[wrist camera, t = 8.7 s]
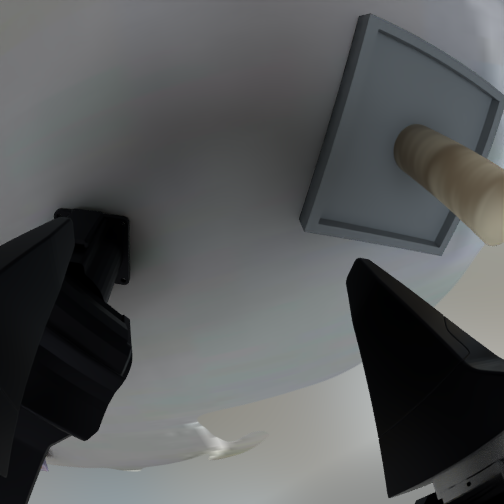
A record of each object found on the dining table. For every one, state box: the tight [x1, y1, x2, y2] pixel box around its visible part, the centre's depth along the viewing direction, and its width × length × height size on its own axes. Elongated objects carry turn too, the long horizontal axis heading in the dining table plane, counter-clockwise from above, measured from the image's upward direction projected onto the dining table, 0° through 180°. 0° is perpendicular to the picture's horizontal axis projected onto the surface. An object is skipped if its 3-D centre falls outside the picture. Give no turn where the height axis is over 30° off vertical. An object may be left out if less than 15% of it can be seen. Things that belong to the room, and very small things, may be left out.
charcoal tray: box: [299, 14, 504, 256], centre depth 20 cm, size 16×14×2 cm
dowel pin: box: [394, 124, 504, 246], centre depth 16 cm, size 4×4×10 cm
